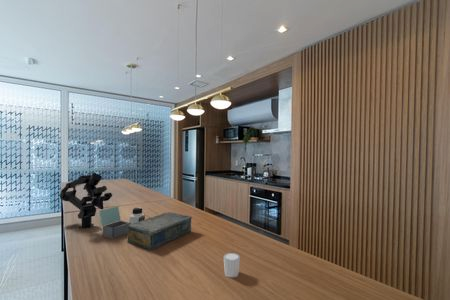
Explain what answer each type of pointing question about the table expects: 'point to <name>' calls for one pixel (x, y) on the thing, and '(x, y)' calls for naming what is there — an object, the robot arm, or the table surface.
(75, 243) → the table surface
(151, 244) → the metal box
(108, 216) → the lid
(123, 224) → the storage box
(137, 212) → the medicine bottle
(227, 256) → the shot glass
